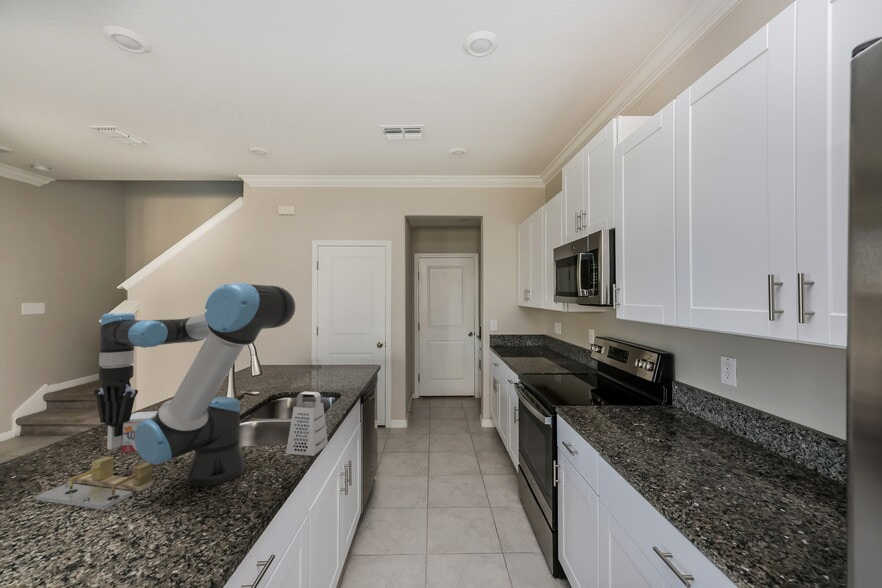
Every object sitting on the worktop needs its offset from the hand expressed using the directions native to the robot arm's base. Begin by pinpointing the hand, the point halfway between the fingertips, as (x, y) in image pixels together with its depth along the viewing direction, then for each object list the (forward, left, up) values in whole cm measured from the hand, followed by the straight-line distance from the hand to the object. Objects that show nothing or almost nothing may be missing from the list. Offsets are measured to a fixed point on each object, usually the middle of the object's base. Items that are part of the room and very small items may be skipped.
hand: (114, 447), depth 104 cm
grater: (-41, -34, -10) cm, 55 cm away
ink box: (+17, -22, -10) cm, 30 cm away
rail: (-2, +4, -10) cm, 11 cm away
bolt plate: (-2, +8, -10) cm, 13 cm away
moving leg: (+3, +4, -8) cm, 10 cm away
